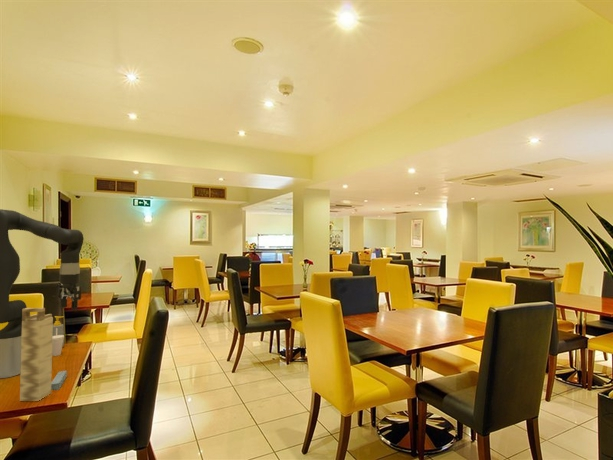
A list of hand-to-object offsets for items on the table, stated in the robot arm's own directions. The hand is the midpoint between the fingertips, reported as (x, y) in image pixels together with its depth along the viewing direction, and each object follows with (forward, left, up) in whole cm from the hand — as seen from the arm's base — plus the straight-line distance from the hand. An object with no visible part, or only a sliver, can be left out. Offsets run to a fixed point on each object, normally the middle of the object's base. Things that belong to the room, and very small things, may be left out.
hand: (69, 308), depth 154 cm
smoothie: (-34, +12, -30) cm, 47 cm away
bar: (+6, -7, -30) cm, 32 cm away
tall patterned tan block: (+13, -18, -30) cm, 37 cm away
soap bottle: (-46, +18, -30) cm, 58 cm away
